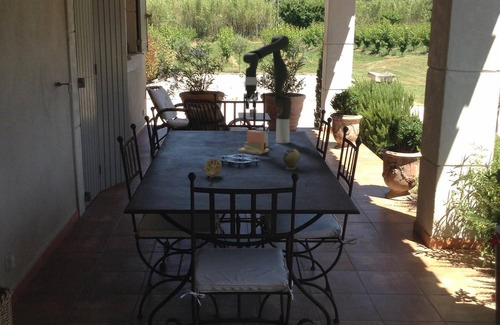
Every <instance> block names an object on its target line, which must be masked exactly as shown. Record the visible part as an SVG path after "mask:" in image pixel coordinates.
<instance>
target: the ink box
mask: <svg viewBox="0 0 500 325" xmlns="http://www.w3.org/2000/svg"><path fill="white" fill-rule="evenodd" d="M252 130H253V129H252ZM253 131H256V130H253ZM261 131H262V132H264V143H266V148H268V147H269V134H268V132H269V131H268V130H261Z"/></svg>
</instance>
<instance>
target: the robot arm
mask: <svg viewBox="0 0 500 325" xmlns="http://www.w3.org/2000/svg"><path fill="white" fill-rule="evenodd" d="M289 43H290V40H289V37H288V36H286V35H283V34H282V35H280V34H279V35H278V34H275V35H273V36H272V38H271V41H270V43H269V44H265V45H262V46H260V47H258V48H256V49H254V50H251V51H248V52H246V53H244V55H243V57H242V60H243V62H244V64H247V65H249V67H247V68H246V69H245V78H244V79H245V80H244V90H245V92H246V93H243V103H245V109H246V110H249V109H250V102H251V101H252V108H256V107H257V101H259V92H258V91H257V84H258V82H257V80H258V79H257V70H258V65H259V60H262V59H264V58H265V57H267V56H269V55H272V59H273V78H274V100H273V101H274V106H275V107H276V109H280V110H282V111H281V112H280V113H277V114H276V125H275V126H276V127H275V128H276V129H275V130H276V131H275V132H276V133H275V134H276V137H275V143H277V144H289V143H290V134H291V133H290V130H291V129H290V122H291V121H290V120H291V119H290V118H291V114H292V99H291V97H290V96H287V95H283V88H284V86H285V84H286V82H287V80H288V67H287V64H286V62H285V61H284V59H283V57H282V53H281V51H282V50H285V49H287V48H288V46H289Z"/></svg>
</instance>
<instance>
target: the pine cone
mask: <svg viewBox="0 0 500 325" xmlns="http://www.w3.org/2000/svg"><path fill="white" fill-rule="evenodd" d="M222 166H223V165H222V162H221V160H218V158H216V157H213V158H212V159H211V158H210V159H208V160H207V161H206V162H205V165H204V171H205V173H206V175H207V176H208V177H209V178H211V179H213V178H214V177H215V178H217V177H218V176H219V175H220V173H221V171H222Z"/></svg>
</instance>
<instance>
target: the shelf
mask: <svg viewBox="0 0 500 325" xmlns="http://www.w3.org/2000/svg"><path fill="white" fill-rule="evenodd" d="M243 144H244V147H241V148H238V149H237V152H238V153H239V152H240V153H245V152H246V154H253V155H261V154H264V153H268V152H270V151H271V149H270V148H268V147H266V143H264V150H262V151H261V144H256V143H248V142H247V141H245V142H244V143H243Z"/></svg>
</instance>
